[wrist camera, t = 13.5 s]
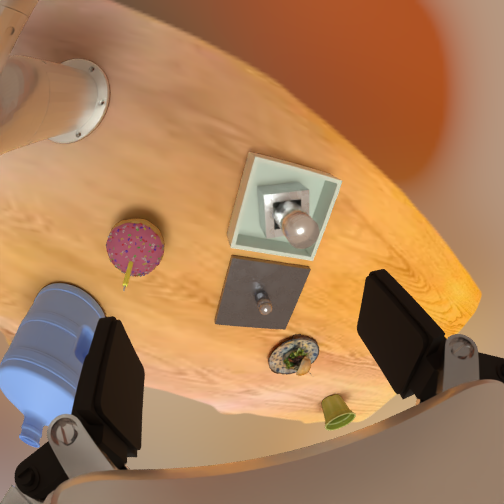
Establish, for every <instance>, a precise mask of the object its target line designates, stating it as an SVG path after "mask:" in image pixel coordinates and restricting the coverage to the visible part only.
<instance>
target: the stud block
mask: <svg viewBox="0 0 504 504" xmlns="http://www.w3.org/2000/svg"><path fill="white" fill-rule="evenodd" d="M310 270H311V269H310V268H309V266H302V265H295V264H288V263H282V262H275V261H269V260H262V259H255V258H249V257H242V256H236V255H231V259H230V263H229V267H228V271H227V274H226V278H225V282H224V286H223V290H222V294H221V297H220V301H219V305H218V309H217V313H216V317H215V324H219V325H230V326H242V327H255V328H269V329H286V326H287V324H288V322H289V320H290V317H291V315H292V313H293V310H294V308H295V306H296V303H297V301H298V299H299V296H300V294H301V292H302V289H303V287H304V284H305V282H306V279H307V277H308V275H309V272H310Z"/></svg>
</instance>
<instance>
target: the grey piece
mask: <svg viewBox="0 0 504 504" xmlns="http://www.w3.org/2000/svg"><path fill="white" fill-rule="evenodd" d="M257 196H258V208H259V221H260V227H261V229H262V231H263V233H264V235H265V237H266V239H268V238H274V237H281V236H285V237H286V238H287V240H288V241H289V243H290V244H291V245H292V246H293V247H295V248H297V249H305V248H308V247H310V246H312V245H313V244H314V243H315V242H316V240H317V239H318V236H319V227H318V224H317V223H316V222H315V221H314V220H313V219H312V218H311V217H310V216H309V189H308V188H306V187H305V186H304V185H302V184H301V183H300V182H290V183H281V184H272V185H264V186H257ZM289 200H292V201H289ZM282 201H284V202H282ZM274 202H282V203H280V204H279V205H278V206H277V207H276V209H275V211H274V212H273V203H274Z"/></svg>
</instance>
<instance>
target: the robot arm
mask: <svg viewBox="0 0 504 504" xmlns="http://www.w3.org/2000/svg"><path fill="white" fill-rule="evenodd" d="M38 1H39V0H0V155H2V154H4V153H6V152H9V151H12V150H15V149H17V148H20V147H23V146H26V145H29V144H32V143H35V142H38V141H42V140H45V139H48V140H51V141H53V142H55V143H60V144H66V143H72V142H76V141H78V140H81V139H83V138H84V137H86V136H88V135H89V134H90V133H91V132H93V131H94V130H95V128H96V127H97V126H98V125H99V124H100V122H101V120H102V119H103V117H104V115H105V113H106V110H107V107H108V103H109V97H110V89H109V83H108V79H107V77H106V75H105V73H104V71H103V70H102V69H101V68H100V67H99V66H98V65H96V64H95V63H93V62H91V61H89V60H85V59H71V60H67V61H64V62H62V63H60V64H58V63H54V62H50V61H46V60H42V59H37V58H32V57H27V56H20V55H15V56H9V55H10V53H11V51H12V49H13V47H14V45H15V43H16V41H17V39H18V37H19V35H20V33H21V31H22V29H23V27H24V25H25V24H26V22H27V20H28V18H29V16H30V14H31V13H32V11H33V9H34V8H35V6H36V4H37V2H38ZM93 68H95V69H94V71H92V70H93ZM103 101H104V102H105V103H104V104H102V102H103ZM80 132H81V136H80V135H79V133H80ZM357 331H358V334H359V336H360V337H361V339H362V340H363V342H364V344H365V345H366V347H367V348H368V350H369V351H370V353H371V354H372V356H373V358H374V359H375V361H376V362H377V364H378V365H379V367H380V369H381V370H382V372H383V373H384V375H385V377H386V378H387V380H388V381H389V383H390V385H391V386H392V388H393V390H394V391H395V393H397V394H400V395H401V397H402V398H403V399H405V398H407V397H409V396H411V395H413V394H415V396H416V397H417V400H416V406H414V407H412V408H410V409H407V410H405V411H403V412H401V413H399V414H396V415H394V416H392V417H389V418H387V419H385V420H383V421H380V422H378V423H375V424H373V425H371V426H368V427H365V428H363V429H360V430H357V431H354V432H352V433H349V434H346V435H343V436H340V437H337V438H334V439H331V440H328V441H325V442H322V443H318V444H315V445H311V446H308V447H304V448H300V449H297V450H293V451H289V452H284V453H280V454H276V455H271V456H266V457H261V458H257V459H251V460H245V461H239V462H233V463H226V464H218V465H209V466H200V467H188V468H173V469H147V470H145V469H144V470H130V468H129V467H128V466H127V465H126V463H127V457H137V450H140V448H141V432H142V407H143V391H144V377H145V373H144V368H143V366H142V364H141V362H140V360H139V358H138V356H137V354H136V352H135V350H134V348H133V346H132V344H131V342H130V340H129V337H128V335H127V333H126V331H125V329H124V327H123V325H122V322H121V321H120V320H116V318H115V317H105V318H100V319H99V320H98V323H97V326H96V329H95V333H94V336H93V339H92V343H91V346H90V349H89V353H88V354H87V355H86V357H85V359H84V363H83V366H82V370H81V374H80V378H79V382H78V386H77V390H76V394H75V398H74V403H73V407H72V412H71V414H62V415H59V416H57V417H56V418H54V419H53V420H52V421H51V423H50V425H49V427H48V430H47V438H48V442H47V443H45V444H44V445H43V446H42V447H40V448H39V449H38V450H37V451H35V452H34V453H33V454H31V455H30V456H29V457H28V458H26V459H25V460H24V461H23V462H21V463H20V464H19V465H18V467H17V468H16V471H15V483H16V486H13V485H12V486H11V487H10V488H9V490H8V492H7V493H6V495H5V496H4V498H3V500H2V501H1V503H0V504H504V358H500V357H495V356H491V355H487V354H483V353H479V352H478V349H477V346H476V344H475V342H474V341H473V340H472V339H470V338H469V337H467V336H465V335H462V334H454V335H451V336H450V337H448V339H446V338H445V337H444V335H445V333H444V331H443V330H442V329H441V328H440V327H439V326H438V325H437V324H436V322H435V321H434V320H433V319H432V318H431V317H430V316H429V315H428V314H427V313H426V311H425V310H424V309H423V308H422V307H421V306H420V305H419V304H418V303H417V302H416V301H415V300H414V299H413V298H412V296H411V295H410V294H409V293H408V292H407V291H406V290H405V289H404V288H403V287H402V286H401V285H400V284H399V283H398V282H397V281H396V280H395V279H394V278H393V277H392V276H391V275H390V274H389V273H388V272H387V271H386V270H385V269H381V270H377V271H372V272H370V274H369V276H367V277H366V280H365V286H364V292H363V298H362V303H361V309H360V314H359V319H358V324H357Z"/></svg>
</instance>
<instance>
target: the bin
mask: <svg viewBox="0 0 504 504" xmlns="http://www.w3.org/2000/svg"><path fill="white" fill-rule="evenodd" d="M290 182H300V183H301V184H302V185H304V186H305V187H306V188H308V189H309V216H310V217H311V218H312V219H313V220H314V221H315V222H316V223H317V224H318V227H319V236H318V239H317V240H316V242H315V243H314V244H313V245H312V246H310V247H308V248H305V249H297V248H295V247H293V246H292V245H291V244H290V243H289V241H288V240H287V238H286V237H285V236H281V237H274V238H268V239H266V237H265V235H264V233H263V231H262V229H261V227H260V221H259V208H258V196H257V186H264V185H272V184H281V183H290ZM341 184H342V181H341V180H340V179H338V178H336V177H334V176H333V175H331V174H329V173H326V172H323V171H319V170H316V169H313V168H309V167H306V166H302V165H299V164H295V163H292V162H288V161H285V160H281V159H277V158H273V157H270V156H266V155H262V154H258V153H254V152H249V153H248V156H247V160H246V164H245V167H244V171H243V175H242V178H241V182H240V186H239V189H238V193H237V197H236V201H235V204H234V208H233V212H232V216H231V220H230V224H229V228H228V232H227V237H228V241H229V245H230V248H235V249H241V250H248V251H254V252H260V253H267V254H273V255H279V256H285V257H292V258H298V259H304V260H311V261H313V259H314V257H315V254H316V251H317V249H318V246H319V244H320V241H321V238H322V236H323V233H324V231H325V228H326V225H327V223H328V220H329V217H330V214H331V212H332V209H333V206H334V203H335V201H336V198H337V195H338V192H339V189H340V187H341ZM289 201H292V200H289ZM282 202H284V201H282ZM282 202H274V203H273V212H274V211H275V209H276V207H277V206H278V205H279V204H280V203H282Z"/></svg>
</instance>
